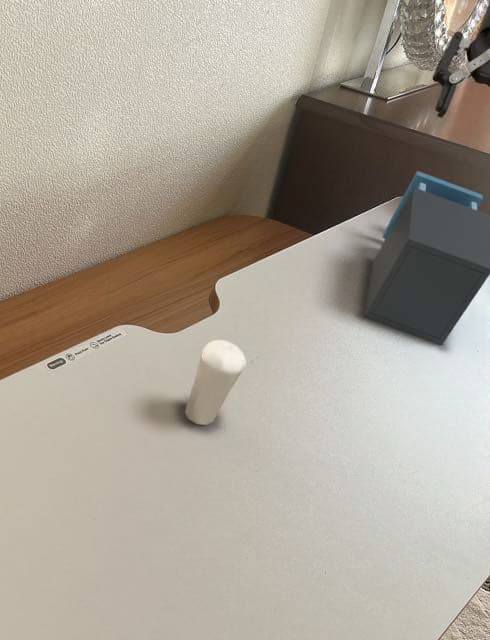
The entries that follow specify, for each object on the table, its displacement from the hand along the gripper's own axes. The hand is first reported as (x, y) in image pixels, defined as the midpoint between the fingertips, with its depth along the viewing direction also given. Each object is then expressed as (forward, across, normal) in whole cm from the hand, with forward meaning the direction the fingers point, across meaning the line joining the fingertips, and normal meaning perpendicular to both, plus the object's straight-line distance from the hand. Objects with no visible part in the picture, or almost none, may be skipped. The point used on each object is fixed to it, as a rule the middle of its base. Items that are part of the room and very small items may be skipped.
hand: (470, 125), depth 121 cm
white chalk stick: (+53, -22, -31) cm, 65 cm away
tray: (+19, -1, +1) cm, 19 cm away
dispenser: (+27, 0, -5) cm, 27 cm away
